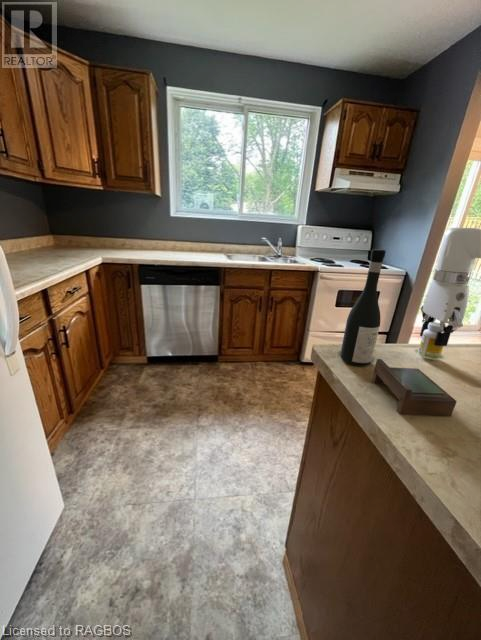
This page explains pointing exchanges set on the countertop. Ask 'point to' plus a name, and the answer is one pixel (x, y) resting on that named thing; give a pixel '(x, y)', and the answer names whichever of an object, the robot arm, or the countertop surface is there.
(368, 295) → the wine bottle
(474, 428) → the countertop surface
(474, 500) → the countertop surface
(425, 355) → the supplement bottle
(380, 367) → the wooden jewelry box
